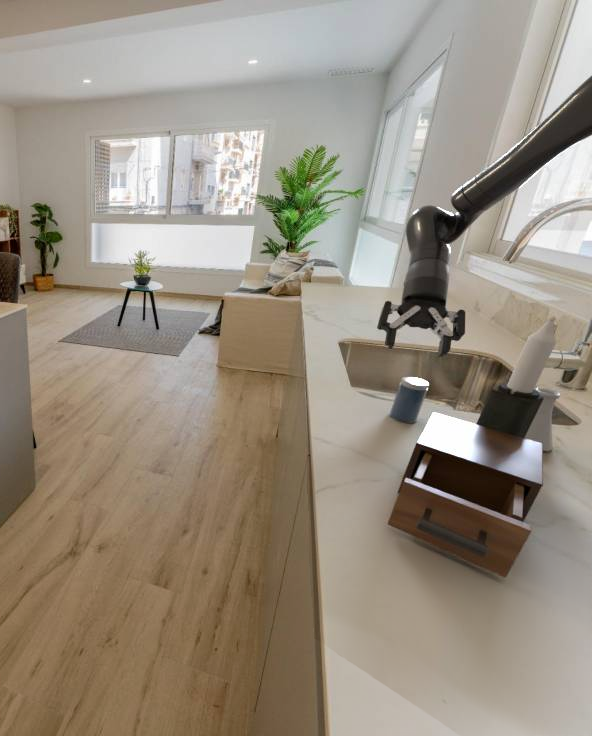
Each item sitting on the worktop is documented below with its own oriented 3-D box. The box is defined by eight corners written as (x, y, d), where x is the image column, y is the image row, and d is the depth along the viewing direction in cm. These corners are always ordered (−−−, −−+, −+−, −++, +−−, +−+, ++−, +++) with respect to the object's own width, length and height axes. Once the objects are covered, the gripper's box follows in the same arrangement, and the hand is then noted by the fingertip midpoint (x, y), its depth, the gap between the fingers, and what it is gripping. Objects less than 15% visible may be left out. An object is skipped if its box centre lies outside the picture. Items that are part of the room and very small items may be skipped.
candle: (459, 456, 72) (521, 312, 62) (476, 450, 74) (539, 310, 64) (495, 473, 67) (568, 322, 58) (512, 467, 69) (586, 319, 60)
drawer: (503, 601, 45) (531, 552, 42) (379, 541, 52) (395, 496, 49) (510, 523, 56) (533, 480, 53) (407, 482, 63) (422, 443, 60)
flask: (495, 426, 82) (516, 379, 78) (547, 439, 78) (572, 390, 74) (500, 442, 76) (524, 392, 72) (557, 457, 72) (584, 405, 69)
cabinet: (513, 540, 54) (542, 485, 51) (397, 492, 62) (416, 442, 59) (517, 492, 63) (542, 443, 60) (415, 456, 71) (432, 411, 68)
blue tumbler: (408, 413, 86) (421, 377, 83) (420, 424, 82) (434, 386, 79) (385, 411, 86) (397, 375, 83) (396, 422, 82) (409, 384, 79)
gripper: (391, 271, 91) (379, 335, 86) (475, 279, 85) (468, 349, 80) (381, 291, 97) (370, 352, 92) (460, 300, 91) (452, 366, 86)
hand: (415, 351), depth 86 cm, fingers open, 8 cm apart
